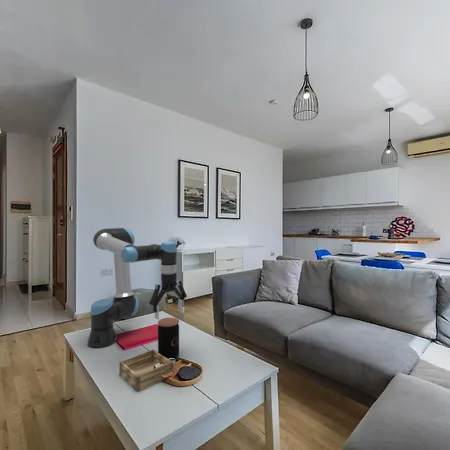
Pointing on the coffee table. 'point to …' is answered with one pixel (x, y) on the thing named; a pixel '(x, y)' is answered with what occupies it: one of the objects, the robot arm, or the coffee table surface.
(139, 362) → the pine crate
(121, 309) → the robot arm
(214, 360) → the coffee table surface
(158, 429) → the coffee table surface
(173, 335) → the coffee jar
